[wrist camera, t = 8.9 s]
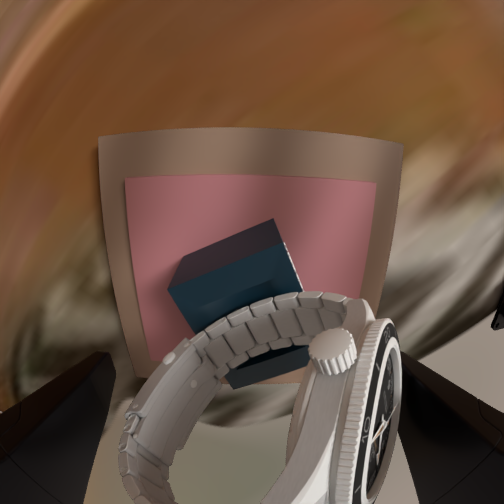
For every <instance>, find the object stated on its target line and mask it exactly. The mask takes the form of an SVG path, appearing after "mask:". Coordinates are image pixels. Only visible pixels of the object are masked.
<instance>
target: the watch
mask: <svg viewBox="0 0 504 504" xmlns="http://www.w3.org/2000/svg"><path fill="white" fill-rule="evenodd" d="M287 251H288V249H287V247H286V244H285V243H284V242H283V240H282V237H281V235H280V233H279V230H278V228H277V225H276V223H275V221H274V218H272V219H270V220H268V221H265V222H263V223H260V224H258V225H256V226H253V227H251V228H248V229H246V230H244V231H241V232H239V233H237V234H234V235H232V236H229V237H227V238H225V239H222V240H220V241H218V242H215V243H213V244H211V245H208V246H206V247H204V248H201V249H199V250H197V251H194V252H192V253H190V254H187V255H185V256H183V258H182V260H181V262H180V264H179V266H178V268H177V270H176V272H175V274H174V276H173V278H172V280H171V282H170V284H169V286H168V288H167V290H168V292H169V294H170V295H171V297H172V299H173V300H174V302H175V304H176V305H177V307H178V308H179V310H180V312H181V313H182V315H183V316H184V318H185V320H186V321H187V323H188V324H189V326H190V327H191V329H192V330H193V332H194V333H195V335H196V336H195V337H193V338H192V339H191V340H189V339H187V338H184V339H183V340H182V341H181V342H180V343H179V344H178V345H177V346H176V348H175V349H174V350H173V351H172V352H170V353H168V354H167V355H166V356H165V357H164V358H163V362H162V363H161V364H160V365H159V366H158V367H157V368H156V370H155V371H154V372H153V373H152V375H151V376H150V377H149V378H148V380H147V381H146V382H145V384H144V385H143V387H142V388H141V389H140V391H139V392H138V394H137V395H136V397H135V398H134V400H133V401H132V403H131V404H130V406H129V408H128V409H127V411H126V413H125V418H126V420H127V422H126V424H125V426H124V429H123V432H124V433H123V434H122V436H121V439H120V443H119V452H120V454H119V457H118V459H119V470H120V474H121V476H122V477H123V478H122V481H123V484H124V486H125V489H126V491H127V492H128V494H129V496H130V497H131V499H132V500H134V503H135V504H178V503H176V502H174V499H175V498H174V495H173V493H172V490H171V487H170V484H169V483H168V482H167V480H168V479H169V466H171V465H172V462H173V458H174V455H175V452H176V450H181V449H183V447H184V445H185V443H186V441H187V439H188V437H189V435H190V433H191V431H192V429H193V427H194V426H195V424H196V422H197V420H198V419H199V417H200V416H201V414H202V413H203V411H204V410H205V408H206V407H207V405H208V404H209V403H210V401H211V400H212V399H213V397H214V396H215V395H216V394H217V392H218V391H219V390H220V389H221V387H222V384H221V382H220V380H219V379H221V378H222V377H223V376H224V377H225V379H226V380H227V381H228V383H229V384H230V385H231V387H232V388H233V389H237V388H240V387H244V386H247V385H251V384H254V383H258V382H261V381H264V380H267V379H271V378H274V377H277V376H280V375H283V374H286V373H289V372H292V371H295V370H297V369H300V368H303V367H306V366H307V367H306V370H305V372H304V375H303V378H302V381H301V384H300V387H299V390H298V393H297V397H296V401H295V405H294V408H293V413H292V419H291V423H290V430H289V434H288V441H287V451H286V467H285V469H284V470H283V472H282V473H281V475H280V476H279V478H278V479H277V481H276V482H275V483H274V485H273V486H272V488H271V489H270V490H269V492H268V493H267V494H266V496H265V497H264V498H263V499H262V501H261V503H260V504H374V502H375V500H376V498H377V496H378V494H379V491H380V489H381V486H382V484H383V482H384V479H385V477H386V474H387V471H388V468H389V464H390V461H391V457H392V454H393V449H394V445H395V441H396V435H397V430H398V424H399V416H400V407H401V392H402V368H401V355H400V346H399V340H398V336H397V332H396V329H395V327H394V324H393V322H392V321H391V320H390V319H389V318H386V319H377V320H375V318H374V315H373V312H372V310H371V308H370V306H369V304H368V303H367V301H366V300H364V299H352V298H347V297H346V296H344V295H340V294H336V293H329V292H326V293H324V294H323V292H321V291H307V292H304V289H303V287H302V284H301V282H300V279H299V277H298V274H297V272H296V269H295V267H294V264H293V262H292V259H291V257H290V254H289V252H287Z"/></svg>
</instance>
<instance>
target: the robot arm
mask: <svg viewBox="0 0 504 504" xmlns="http://www.w3.org/2000/svg"><path fill="white" fill-rule="evenodd" d="M491 328H492V329H493V330H499V329H502V328H504V292H503V295H502V298H501V301H500V303H499V306H498V309H497V311H496V314H495V316H494V319H493V321H492V324H491ZM400 355H401V368H402V392H401V407H400V416H399V424H398V430H397V431H398V434H399V437H400V439H401V443H402V446H403V449H404V452H405V455H406V459H407V462H408V465H409V468H410V472H411V475H412V478H413V482H414V486H415V489H416V493H417V496H418V500H419V504H504V413H502V412H500V411H498V410H496V409H495V408H493V407H491V406H490V405H488V404H486V403H484V402H483V401H481V400H480V399H477V398H476V397H475V396H473V395H472V394H470V393H468V392H467V391H465V390H463V389H462V388H460V387H459V386H457V385H455V384H454V383H452V382H450V381H449V380H447V379H446V378H444V377H442V376H441V375H439V374H438V373H436V372H434V371H433V370H431V369H430V368H428V367H426V366H425V365H423V364H421V363H420V362H418V361H417V360H415V359H413V358H412V357H410V356H409V355H407V354H405V353H404V352H402V351H400ZM115 378H116V370H115V367H114V364H113V361H112V358H111V356H110V354H109V353H108V352H105V351H96V352H94V353H93V354H91V355H90V356H88V357H87V358H85V359H83V360H82V361H80V362H79V363H77V364H76V365H74V366H73V367H71V368H70V369H68V370H67V371H65V372H64V373H62V374H61V375H59V376H58V377H56V378H55V379H53V380H52V381H50V382H49V383H47V384H46V385H44V386H42V387H41V388H39V389H38V390H36V391H35V392H33V393H32V394H30V395H29V396H27V397H26V398H24V399H23V400H22V402H21V401H20V402H18V403H17V404H15V405H14V406H12V407H10V408H9V409H7V410H6V411H4V412H2V413H1V414H0V504H83V502H84V498H85V494H86V489H87V485H88V481H89V477H90V474H91V470H92V466H93V463H94V459H95V455H96V452H97V448H98V445H99V442H100V438H101V435H102V432H103V428H104V425H105V422H106V419H107V415H108V411H109V406H110V401H111V397H112V392H113V387H114V383H115Z"/></svg>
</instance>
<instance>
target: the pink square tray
mask: <svg viewBox="0 0 504 504" xmlns="http://www.w3.org/2000/svg"><path fill="white" fill-rule="evenodd" d="M98 152H99V176H100V191H101V203H102V214H103V223H104V231H105V239H106V246H107V253H108V259H109V265H110V271H111V277H112V282H113V287H114V292H115V297H116V302H117V307H118V311H119V316H120V320H121V324H122V328H123V332H124V336H125V340H126V344H127V347H128V351H129V355H130V358H131V362H132V365H133V368H134V372H135V375H136V377H142V378H149V377H150V376H151V375H152V373H153V372H154V371H155V370H156V368H157V367H158V366H159V365H160V364H161V363H162V362H163V358H164V357H165V356H166V355H167V354H168V353H170V352H172V351H173V350H174V349H175V348H176V346H177V345H178V344H179V343H180V342H181V341H182V340H183V339H184V338H187V339H189V340H191V339H192V338H193V337H195V336H196V335H195V333H194V332H193V330H192V329H191V327H190V326H189V324H188V323H187V321H186V320H185V318H184V316H183V315H182V313H181V312H180V310H179V308H178V307H177V305H176V304H175V302H174V300H173V299H172V297H171V295H170V294H169V292H168V290H167V288H168V286H169V284H170V282H171V280H172V278H173V276H174V274H175V272H176V270H177V268H178V266H179V264H180V262H181V260H182V258H183V256H185V255H187V254H190V253H192V252H194V251H197V250H199V249H201V248H204V247H206V246H208V245H211V244H213V243H215V242H218V241H220V240H222V239H225V238H227V237H229V236H232V235H234V234H237V233H239V232H241V231H244V230H246V229H248V228H251V227H253V226H256V225H258V224H260V223H263V222H265V221H268V220H270V219H272V218H274V221H275V223H276V225H277V228H278V230H279V233H280V235H281V237H282V240H283V242H284V243H285V244H286V247H287V249H288V251H287V252H289V254H290V257H291V259H292V262H293V264H294V267H295V269H296V272H297V274H298V277H299V279H300V282H301V284H302V287H303V289H304V292H307V291H321V292H323V294H324V293H326V292H329V293H336V294H340V295H344V296H346V297H347V298H352V299H364V300H366V301H367V303H368V304H369V306H370V308H371V310H372V312H373V315H374V318H375V317H376V313H377V309H378V305H379V301H380V297H381V293H382V289H383V284H384V280H385V275H386V271H387V266H388V261H389V256H390V251H391V245H392V239H393V233H394V227H395V221H396V214H397V207H398V199H399V190H400V181H401V171H402V159H403V144H402V143H396V142H391V141H385V140H379V139H373V138H366V137H359V136H352V135H344V134H335V133H326V132H316V131H304V130H290V129H272V128H186V129H168V130H154V131H142V132H132V133H123V134H115V135H107V136H100V137H98ZM306 367H307V366H306ZM306 367H303V368H300V369H297V370H295V371H292V372H289V373H286V374H283V375H280V376H277V377H274V378H271V379H267V380H264V381H261V382H258V383H254V384H284V383H301V381H302V378H303V375H304V372H305V370H306ZM219 380H220V382H221V384H229V383H228V381H227V380H226V379H225V377H224V376H223V377H222V378H221V379H219Z"/></svg>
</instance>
